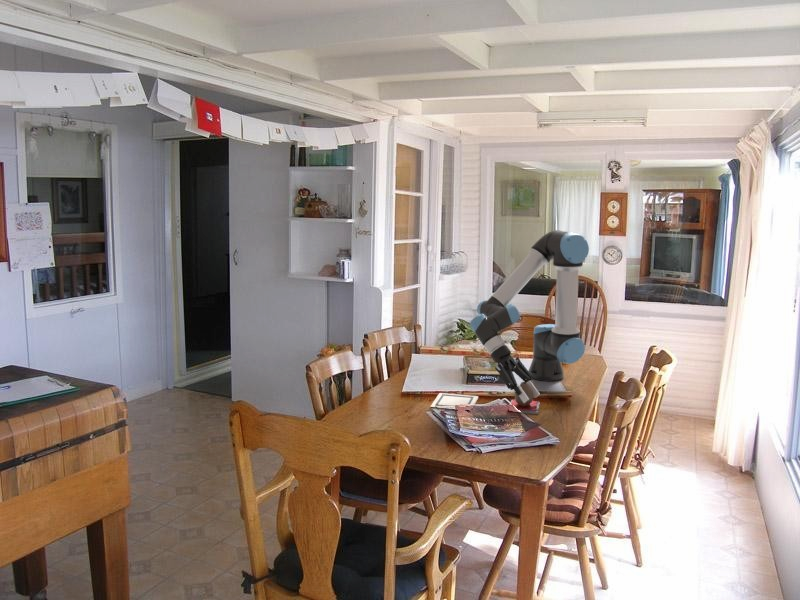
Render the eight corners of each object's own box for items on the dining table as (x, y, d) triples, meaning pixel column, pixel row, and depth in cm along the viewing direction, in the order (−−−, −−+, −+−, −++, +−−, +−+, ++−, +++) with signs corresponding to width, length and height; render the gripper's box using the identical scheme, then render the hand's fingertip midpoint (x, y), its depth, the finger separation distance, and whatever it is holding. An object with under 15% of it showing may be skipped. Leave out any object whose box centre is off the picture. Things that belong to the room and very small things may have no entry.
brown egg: (535, 407, 261) (536, 385, 259) (518, 408, 260) (518, 386, 258) (529, 400, 268) (529, 379, 266) (512, 402, 266) (512, 380, 265)
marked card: (478, 397, 276) (478, 395, 276) (471, 411, 261) (471, 409, 261) (439, 394, 280) (439, 392, 280) (430, 407, 265) (430, 405, 265)
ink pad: (539, 404, 268) (539, 401, 267) (537, 414, 257) (537, 410, 257) (511, 401, 271) (511, 398, 270) (507, 411, 260) (507, 408, 260)
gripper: (506, 349, 278) (539, 397, 270) (476, 360, 263) (511, 410, 256) (517, 339, 273) (552, 387, 265) (488, 349, 259) (523, 400, 251)
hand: (532, 398), depth 260 cm, fingers closed on brown egg, 7 cm apart
